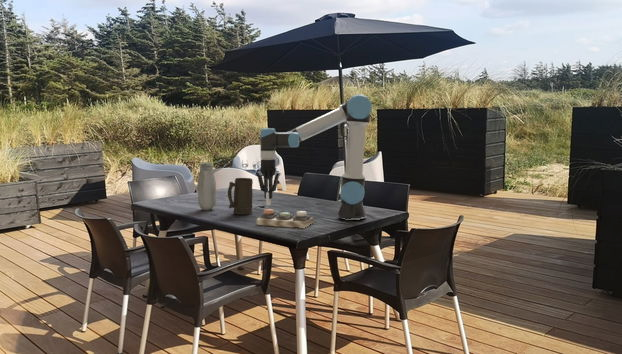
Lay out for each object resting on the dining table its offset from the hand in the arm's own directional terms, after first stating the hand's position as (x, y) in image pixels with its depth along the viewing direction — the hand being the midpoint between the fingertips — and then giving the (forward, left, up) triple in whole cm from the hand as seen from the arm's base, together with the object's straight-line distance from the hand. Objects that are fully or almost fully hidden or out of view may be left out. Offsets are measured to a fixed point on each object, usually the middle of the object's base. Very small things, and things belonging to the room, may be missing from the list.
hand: (268, 204), depth 262 cm
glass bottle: (+50, -23, -10) cm, 56 cm away
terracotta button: (0, 0, -5) cm, 5 cm away
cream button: (-18, 0, -5) cm, 19 cm away
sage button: (-9, 0, -6) cm, 11 cm away
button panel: (-9, 0, -9) cm, 13 cm away
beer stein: (+25, -17, -10) cm, 32 cm away
